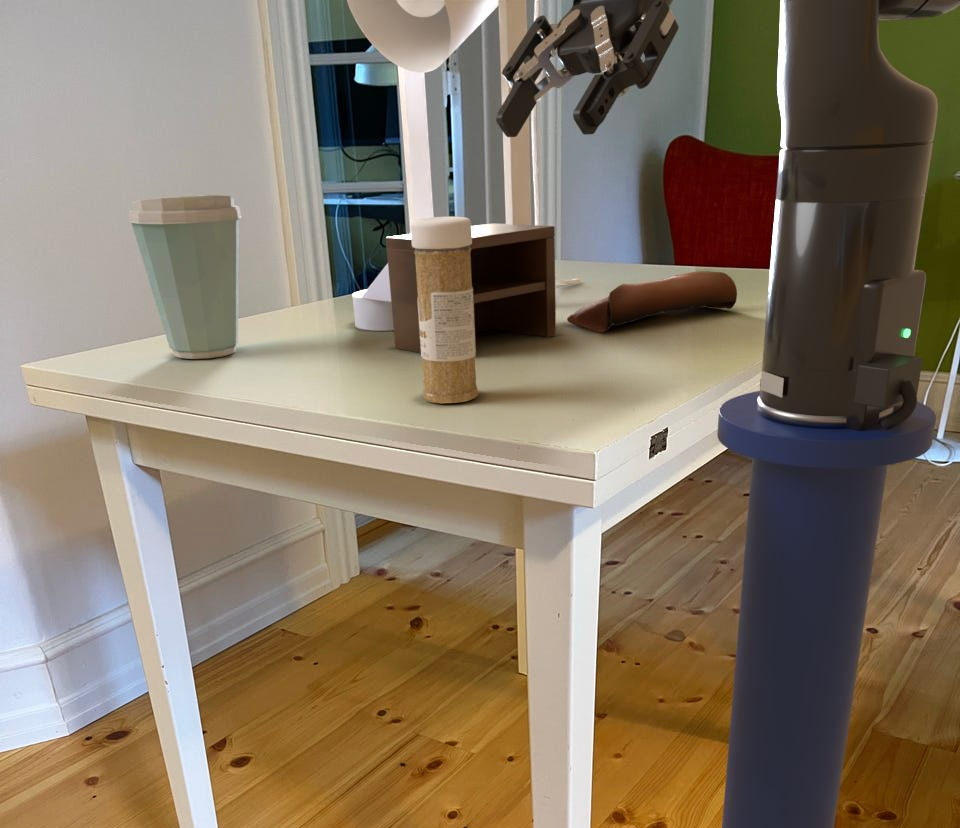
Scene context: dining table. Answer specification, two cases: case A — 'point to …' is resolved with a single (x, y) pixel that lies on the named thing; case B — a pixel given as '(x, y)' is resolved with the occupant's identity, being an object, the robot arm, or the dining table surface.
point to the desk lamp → (423, 48)
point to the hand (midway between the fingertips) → (541, 128)
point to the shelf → (486, 281)
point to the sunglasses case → (657, 299)
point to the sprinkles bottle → (445, 307)
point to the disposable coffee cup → (192, 269)
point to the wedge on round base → (374, 305)
